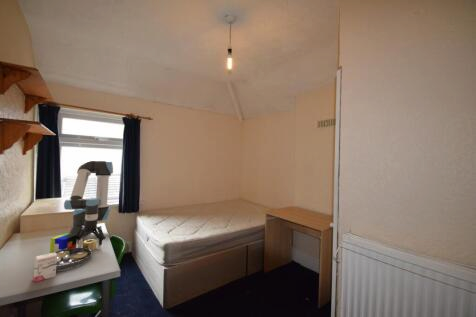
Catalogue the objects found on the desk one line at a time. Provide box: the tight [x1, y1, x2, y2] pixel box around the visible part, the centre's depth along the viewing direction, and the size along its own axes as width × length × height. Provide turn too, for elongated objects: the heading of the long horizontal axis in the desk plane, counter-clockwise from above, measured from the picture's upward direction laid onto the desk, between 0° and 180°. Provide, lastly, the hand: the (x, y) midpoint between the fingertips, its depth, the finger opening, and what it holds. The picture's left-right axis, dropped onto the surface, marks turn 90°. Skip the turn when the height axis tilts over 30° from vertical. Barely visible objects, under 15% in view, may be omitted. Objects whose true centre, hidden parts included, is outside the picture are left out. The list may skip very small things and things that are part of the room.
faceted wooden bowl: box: [82, 238, 98, 252], centre depth 148 cm, size 8×8×6 cm
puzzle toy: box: [49, 233, 78, 253], centre depth 145 cm, size 10×10×10 cm
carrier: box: [53, 247, 93, 273], centre depth 129 cm, size 26×26×6 cm
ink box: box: [32, 252, 57, 283], centre depth 111 cm, size 9×5×12 cm, turn 139°
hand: (89, 249), depth 148 cm, fingers open, 13 cm apart
